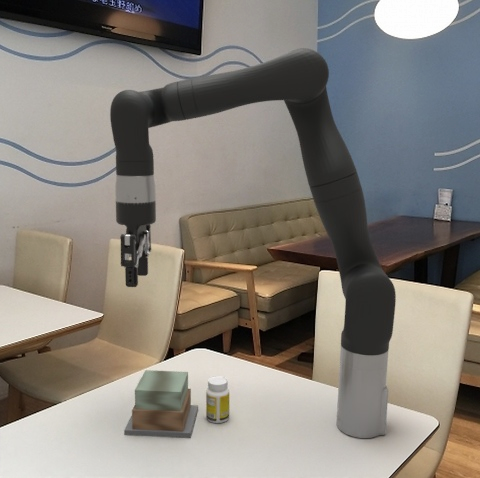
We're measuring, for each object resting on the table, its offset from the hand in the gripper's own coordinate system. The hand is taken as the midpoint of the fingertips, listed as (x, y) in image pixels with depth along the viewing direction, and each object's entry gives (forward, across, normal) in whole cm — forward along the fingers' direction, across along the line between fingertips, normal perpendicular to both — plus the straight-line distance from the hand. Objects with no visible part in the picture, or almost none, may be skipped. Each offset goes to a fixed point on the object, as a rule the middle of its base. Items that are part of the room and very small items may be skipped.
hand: (137, 280), depth 107 cm
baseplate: (+29, -1, -5) cm, 30 cm away
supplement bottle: (+30, +1, -16) cm, 34 cm away
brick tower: (+29, -1, -5) cm, 30 cm away
